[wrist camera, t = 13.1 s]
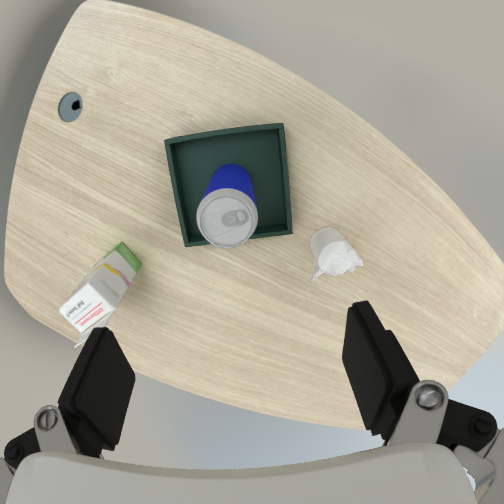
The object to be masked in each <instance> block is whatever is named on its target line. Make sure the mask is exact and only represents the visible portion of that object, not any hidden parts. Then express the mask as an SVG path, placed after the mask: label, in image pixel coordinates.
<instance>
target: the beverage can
mask: <svg viewBox="0 0 504 504" xmlns="http://www.w3.org/2000/svg"><path fill="white" fill-rule="evenodd" d="M196 219H197V224H198V228H199V230H200V232H201V233H202V235H203V236H204V237H205V239H206V240H207V241H209V242H210V243H211V244H213V245H215V246H218V247H221V248H233V247H237V246H239V245H241V244H243V243H244V242H246V241H247V240H248V239H249V238H250V236H251V235H252V234H253V232H254V231H255V229H256V226H257V222H258V213H257V207H256V202H255V197H254V192H253V187H252V182H251V177H250V175H249V173H248V172H247V171H246V170H245V169H244V168H243V167H241V166H239V165H236V164H226V165H223V166H221V167H219V168H218V169H217V170H216V171H215V172H214V174H213V176H212V178H211V180H210V182H209V184H208V187H207V189H206V191H205V193H204V195H203V198H202V200H201V202H200V204H199V207H198V210H197V218H196Z"/></svg>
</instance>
